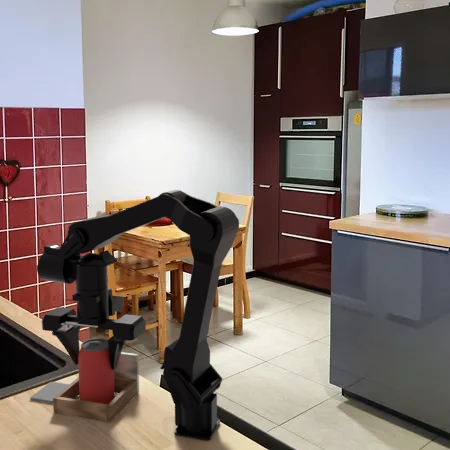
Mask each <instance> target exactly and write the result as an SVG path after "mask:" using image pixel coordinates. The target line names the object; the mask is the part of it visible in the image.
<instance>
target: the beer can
mask: <svg viewBox="0 0 450 450" xmlns="http://www.w3.org/2000/svg"><path fill="white" fill-rule="evenodd" d="M77 365H78V367H77V368H78V377H79V395H78V397H79V398H78V400H83V401H89V402H96V403H102V404H109V403H110V402H111V401H112V400H113V399H114V398H115V397H116V396H115V395H116V393H115V375H114V370H112V368H111V364H110V356H109V347H108V339H107V338H100V337H96V338H95V337H94V338H90V339H86V340H84V341H83V342H82V343H81V344H80V352H79V355H78V364H77Z"/></svg>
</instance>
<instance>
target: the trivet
mask: <svg viewBox="0 0 450 450" xmlns="http://www.w3.org/2000/svg"><path fill="white" fill-rule="evenodd" d="M69 384H70V383H69ZM69 384H68V383H62V382H57V381H50V382H48V383H47V384H46V385H44V386H42V388H40V389H39V390H38V391H37V392H35V393H34V394H32V396H30V398H29V399H30V400H31V401H36V402H41V403H47V404H53V398H54V397H55V396H56V395H57V394H59V393H60V392H61V391H62V390H63V389H65V388H66V387H67V386H68V385H69Z"/></svg>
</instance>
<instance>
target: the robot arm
mask: <svg viewBox="0 0 450 450" xmlns="http://www.w3.org/2000/svg"><path fill="white" fill-rule="evenodd" d="M165 218H166V219H168V220H170V221H171V223H173V224H174V225H175V226H176V228H178V230H179V231H181V232H183V233H185V234H186V235H188V236H189V249H190V253H191V255H192V259H193V262H192V263H193V264H192V269H191V275H190V279H189V285H188V290H187V295H186V299H185V300H186V301H185V306H184V310H183V311H184V312H183V318H182V321H181V322H182V323H181V326H180V333H179V337H177V338H176V339H175V340H174V341H172V342H171V343H170V344H168V345H166V346H165V348H164V351H163V362H162V365H161V366H160V368H159V369H160V370H163V371H162V378H163V381H164V382H165V383H166V384H167V387H168V390H169V393H170V395H171V398H172V402H173V404H174V424H175V429H174V431H173V434H174V435H176V436H181V437H187V438H193V439H200V440H205V441H209V440H211V438H212V437H213V435H214V433H215V432H216V430H217V428H218V427H219V425H220V422H221V419H219V418H218V394H217V393H215V392H216V391H217V390H218V389H220V387H221V384H222V382H223V377H222V376H221V375H220V373H218V371H217V370H216V369H215V367H214V366H213V365H212V364H211V349H210V347H209V343H208V334H209V329H210V323H211V317H212V313H213V309H214V304H215V300H216V294H217V289H218V284H219V281H220V276H221V275H220V274H221V269H222V265H223V262H224V260H225V259H226V257H227V256H228V254H229V252H230V251H231V248H232V246H233V245H234V242H235V239H236V238H237V235H238V232H239V229H240V221H239V220H240V219H239V218H238V217H237V215H236V213H235V212H234V211H233V210H232V209H231V208H229V207H226V206H217V205H216V204H214V203H211V202H209V201H205V200H204V199H200V198H197V197H195V196H192V195H189V194H188V193H186V192H184V191H182V190H179V189H174V190H169V191H165V192H162V193H160V194H159V195H158V196H155V197H154V198H153V197H152V198H151V199H147V200H146V201H143V202H141V203H138V204H136V205H133V206H131V207H128V208H126V209H123V210H121V211H117V212H116V213H113V214H106V215H100V216H99V215H98V216H95V217H93V216H92V217H91V218H86V219H82V220H78V221H74V222H72V223H71V224H69V226H68V231H67V236H66V237H65V238H64V240H63V242H62V243H61V245H60V246H59V245H57V244H48V245H45V246H43V253H42V254H41V255H40V256H39V260H38V262H37V265H36V272H37V275H38V277H39V278H40V279H41V280H43V281H47V282H55V283H60V284H61V283H62V284H69V285H71V284H73V283H74V282H75V293H73V294H72V299H71V300H72V301H73V302H76V310H75V309H74V308H71V307H70V308H69V307H61V306H58V307H56V308H54V309H52V310H50V311H49V312H47V313H45V314H44V315H43V317H42V318H41V327H42V328H41V329H42V330H43V331H47V332H51V335H52V336H53V337H56V338H57V340H58V341H59V342H60V343H61V345H62V346H63V348H64V349H65V350H66V352H67V353H68V355H69V357H70V359H71V361H72V362H73V364H74V365H78V355H79V352H80V349H81V347H80V337H79V335H80V330H81V328H82V327H83V328H92V329H100V330H108V331H111V332H112V336H111V337H109V338H108V339H107V340H108V347H109V356H110V364H111V368H112V370H114V369H115V368H116V367H117V364H118V361H119V358H120V354H121V352H123V351H122V350H123V348H124V345H125V343H126V342H127V341H128V342H129V341H134V340H136V339H137V338H138V337H139V336H140V335H142V334H143V333H144V332H145V331H146V330H147V328H146V327H147V326H146V325H147V324H146V320H145V318H144V317H143V316H142V315H136V314H124V315H122V316H121V317H119V318H118V319H113V318H110V317H113V316H115V315H116V313H123V308H124V307H123V305H124V296H119V295H113V289H112V288H111V287H109V284H108V283H109V282H108V266H111V265H115V264H116V263H118V259H117V257H115V256H114V255H113V254H111V252H110V251H109V250H104V251H101V252H99V253H96V252H95V253H94V252H92V251H95V250H99V249H102V248H105V247H106V246H108V245H110V244H111V243H113V242H115V241H116V240H118V239H119V238H120V237H121V236H122V235H124V234H125V233H127V232H130V231H132V230H135V229H137V228H140V227H143V226H146V225H149V224H151V223H153V222H156V221H159V220H161V219H165ZM81 254H85V255H81Z"/></svg>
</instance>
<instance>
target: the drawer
mask: <svg viewBox="0 0 450 450" xmlns="http://www.w3.org/2000/svg"><path fill="white" fill-rule="evenodd" d="M139 368H140V367H139V353H137V354H136V353H131V352H130V353H129V352H125V351H121V354H120V358H119V361H118V364H117V367H116V368H115V369H114V375H115V394H117V395H116V396H115V398H114V399H113V400H112V401H111V402H110V403H109V404H102V403H96V402H89V401H83V400H79V399H76V398H77V397H79V376H78V377H76V379H74V380H73V381H72V382H71V383H69V385H68V386H67V387H66V388H65V389H63V390H62V391H61V392H60V393H59V394H57V395H56V396H55V397H54V398H53V403H52V406H53V409H52V410H53V414H57V415H63V416H67V417H68V416H69V417H75V418H80V419H86V420H92V421H98V422H105V423H109V424H110V423H112V422H113V421H114V420H115V418H116V417H118V416H119V415H120V413H121V412H123V410H124V409H125V408H126V407H127V406H128V405H129V404H130V403H131V402H132V401H133V399H134V398H136V396H137V395H138V394H139V393H140V376H139V375H140V374H139V370H140V369H139Z"/></svg>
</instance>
